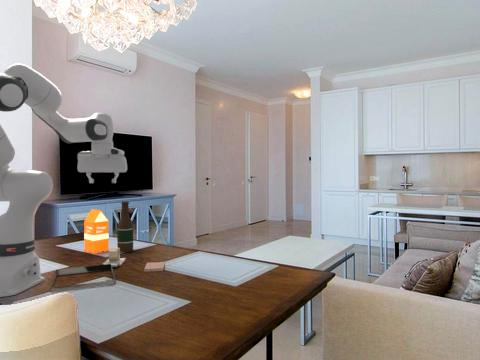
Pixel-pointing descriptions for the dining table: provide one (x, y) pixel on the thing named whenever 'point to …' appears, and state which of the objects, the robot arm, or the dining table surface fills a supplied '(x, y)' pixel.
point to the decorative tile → (83, 270)
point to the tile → (154, 266)
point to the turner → (113, 257)
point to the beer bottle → (125, 230)
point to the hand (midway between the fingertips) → (102, 182)
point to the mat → (120, 261)
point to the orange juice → (96, 232)
